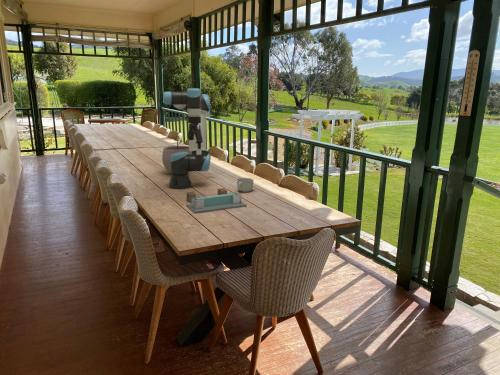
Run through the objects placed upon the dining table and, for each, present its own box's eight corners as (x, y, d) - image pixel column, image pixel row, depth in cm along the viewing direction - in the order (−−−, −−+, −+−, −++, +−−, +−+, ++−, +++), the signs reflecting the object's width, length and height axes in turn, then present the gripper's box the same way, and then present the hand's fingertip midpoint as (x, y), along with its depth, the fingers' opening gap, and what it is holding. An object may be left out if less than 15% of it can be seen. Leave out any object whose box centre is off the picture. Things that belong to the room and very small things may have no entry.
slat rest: (186, 200, 234) (186, 192, 233) (223, 195, 244) (223, 187, 243) (189, 202, 229) (189, 194, 228) (227, 198, 239) (227, 190, 238)
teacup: (244, 188, 263) (244, 176, 261) (256, 190, 256) (257, 179, 254) (230, 192, 253) (230, 180, 251) (243, 195, 246) (243, 182, 244)
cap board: (186, 206, 223) (186, 204, 222) (236, 199, 236) (236, 198, 236) (194, 213, 210) (194, 211, 209) (246, 206, 223) (246, 204, 223)
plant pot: (199, 174, 302) (198, 136, 295) (170, 178, 289) (168, 138, 282) (185, 169, 321) (184, 132, 314) (158, 172, 308) (156, 134, 301)
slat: (195, 206, 219) (195, 197, 217) (234, 201, 229) (234, 193, 228) (197, 207, 216) (197, 199, 215) (236, 202, 226) (236, 194, 225)
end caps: (191, 205, 220) (190, 197, 218) (236, 200, 231) (236, 192, 230) (195, 209, 213) (194, 200, 212) (241, 203, 225) (241, 194, 224)
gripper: (181, 114, 232) (183, 149, 238) (194, 117, 211) (195, 156, 216) (193, 114, 236) (194, 149, 241) (207, 117, 214) (208, 155, 219)
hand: (195, 152), depth 229 cm, fingers open, 13 cm apart
